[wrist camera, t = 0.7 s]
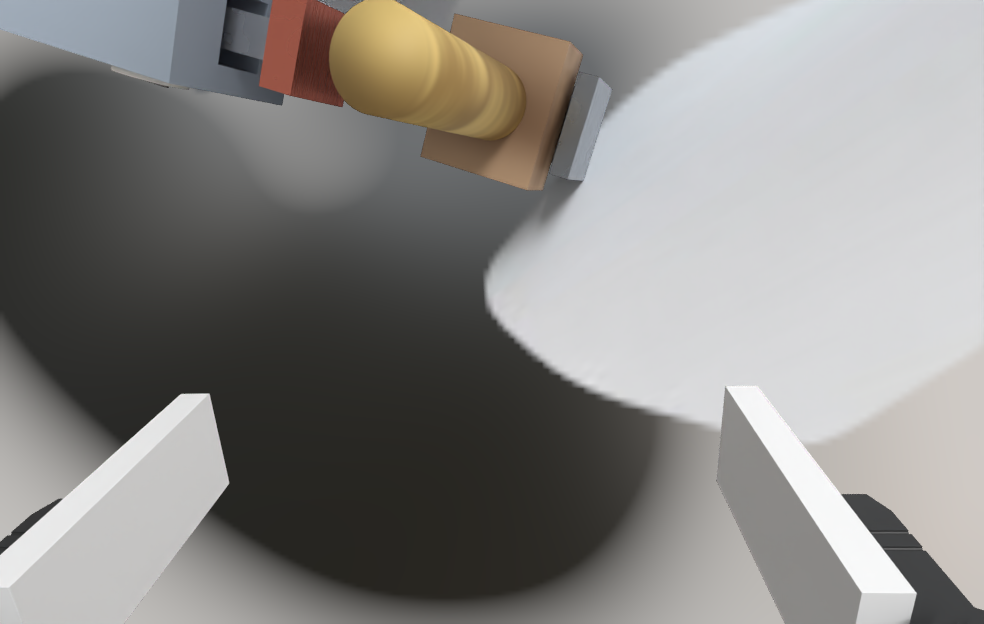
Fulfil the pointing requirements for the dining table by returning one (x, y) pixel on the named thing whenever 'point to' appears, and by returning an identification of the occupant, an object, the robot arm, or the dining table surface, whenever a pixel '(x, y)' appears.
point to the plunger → (288, 46)
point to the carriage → (459, 87)
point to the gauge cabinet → (148, 39)
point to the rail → (580, 127)
